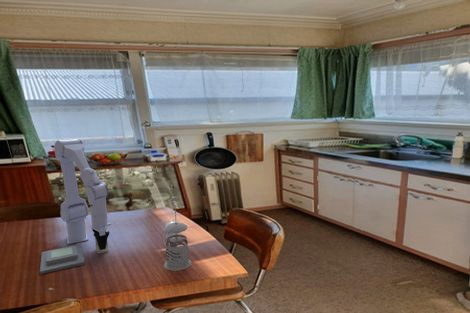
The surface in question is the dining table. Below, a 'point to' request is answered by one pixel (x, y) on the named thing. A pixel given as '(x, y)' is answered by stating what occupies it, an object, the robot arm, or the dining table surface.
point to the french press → (180, 259)
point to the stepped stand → (61, 258)
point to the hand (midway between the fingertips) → (101, 246)
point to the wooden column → (99, 249)
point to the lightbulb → (172, 233)
